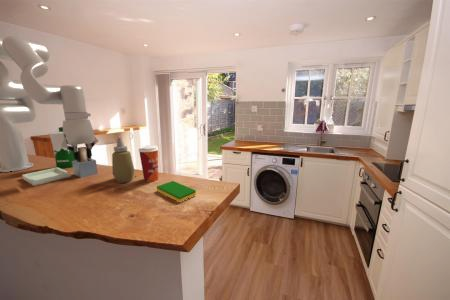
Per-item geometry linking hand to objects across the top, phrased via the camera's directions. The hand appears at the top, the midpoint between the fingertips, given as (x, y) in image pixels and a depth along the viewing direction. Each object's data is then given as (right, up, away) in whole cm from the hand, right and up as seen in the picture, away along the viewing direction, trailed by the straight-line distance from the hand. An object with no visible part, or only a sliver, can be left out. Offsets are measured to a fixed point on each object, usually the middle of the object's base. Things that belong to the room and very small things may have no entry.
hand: (83, 159), depth 87 cm
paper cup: (+31, -9, -3) cm, 32 cm away
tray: (-14, -9, -2) cm, 16 cm away
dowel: (0, -7, +2) cm, 7 cm away
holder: (0, -8, +2) cm, 8 cm away
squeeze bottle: (+20, -9, -4) cm, 22 cm away
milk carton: (-18, -5, +14) cm, 23 cm away
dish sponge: (+44, -12, -16) cm, 49 cm away
